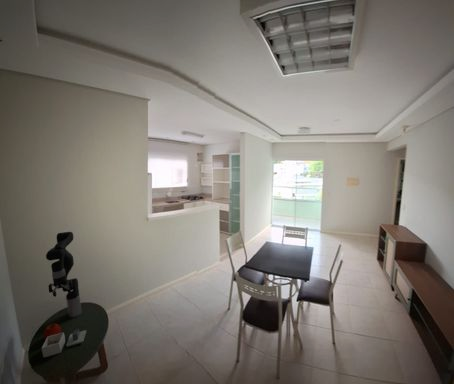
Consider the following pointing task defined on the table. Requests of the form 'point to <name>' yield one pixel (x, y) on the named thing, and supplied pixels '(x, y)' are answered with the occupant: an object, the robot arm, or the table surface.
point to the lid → (76, 337)
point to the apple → (52, 330)
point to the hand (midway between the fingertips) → (62, 294)
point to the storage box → (53, 344)
